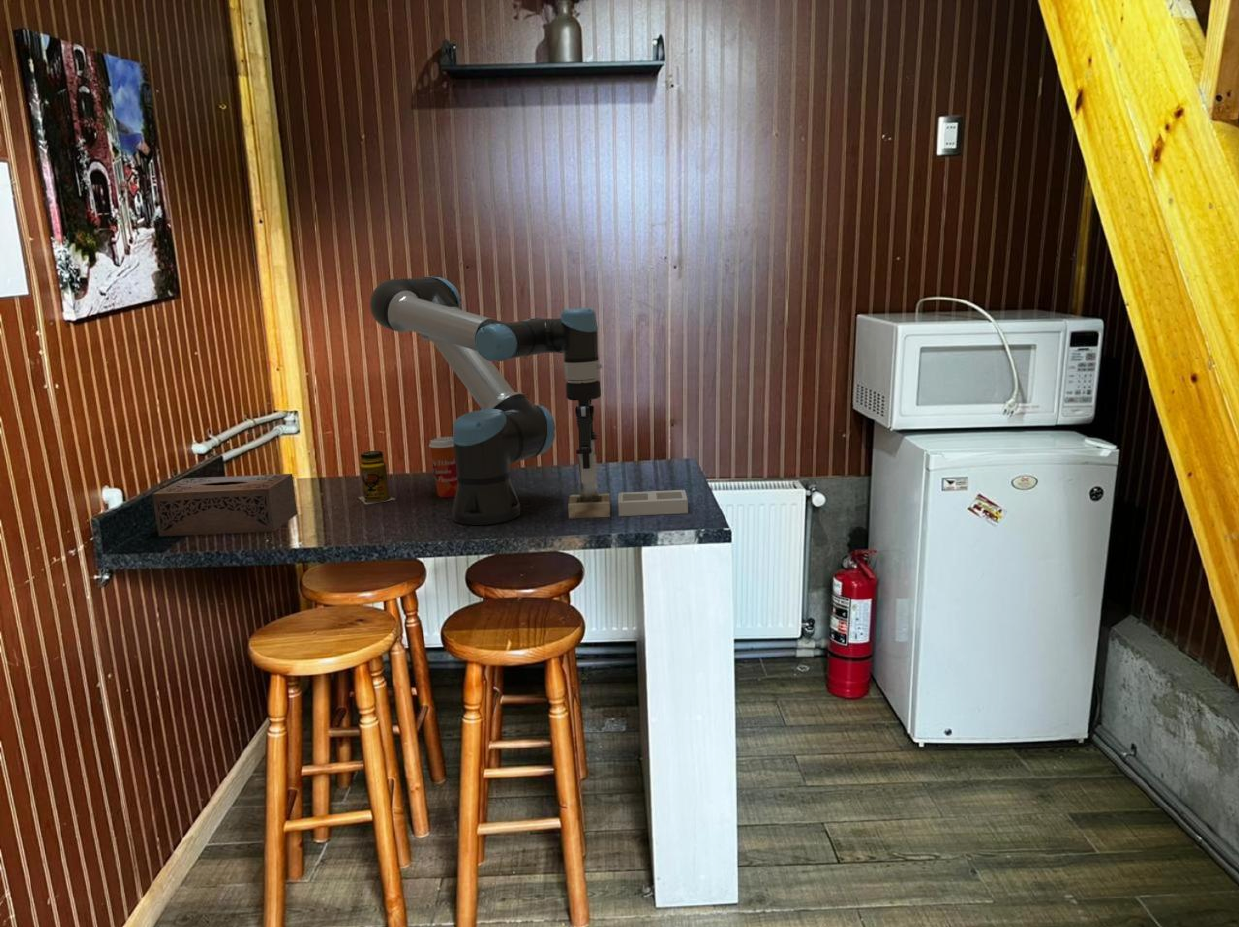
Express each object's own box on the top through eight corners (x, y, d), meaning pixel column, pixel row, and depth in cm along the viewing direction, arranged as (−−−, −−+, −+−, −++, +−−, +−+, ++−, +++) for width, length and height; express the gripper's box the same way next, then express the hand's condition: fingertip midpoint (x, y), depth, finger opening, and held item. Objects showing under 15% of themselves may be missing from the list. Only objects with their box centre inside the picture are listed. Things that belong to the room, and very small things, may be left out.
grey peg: (586, 515, 200) (583, 458, 198) (578, 511, 204) (574, 455, 201) (602, 512, 202) (599, 455, 199) (593, 508, 206) (590, 452, 203)
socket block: (568, 518, 199) (568, 505, 198) (571, 507, 207) (570, 495, 207) (609, 516, 199) (609, 503, 198) (610, 505, 207) (609, 493, 207)
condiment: (365, 505, 219) (360, 456, 216) (358, 498, 226) (353, 451, 224) (395, 500, 222) (390, 452, 219) (387, 493, 229) (382, 447, 227)
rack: (618, 516, 199) (618, 503, 198) (618, 505, 207) (618, 492, 207) (688, 513, 198) (687, 499, 198) (685, 502, 207) (684, 489, 207)
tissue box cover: (297, 514, 214) (292, 473, 212) (274, 532, 200) (268, 488, 198) (189, 519, 214) (183, 478, 212) (159, 537, 200) (151, 494, 198)
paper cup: (428, 498, 222) (422, 442, 219) (441, 490, 230) (436, 436, 227) (457, 498, 220) (452, 442, 217) (470, 491, 228) (465, 436, 225)
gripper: (598, 387, 184) (604, 488, 189) (601, 373, 209) (606, 462, 213) (561, 389, 184) (568, 489, 189) (568, 374, 209) (574, 464, 213)
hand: (588, 475), depth 201 cm, fingers open, 13 cm apart
